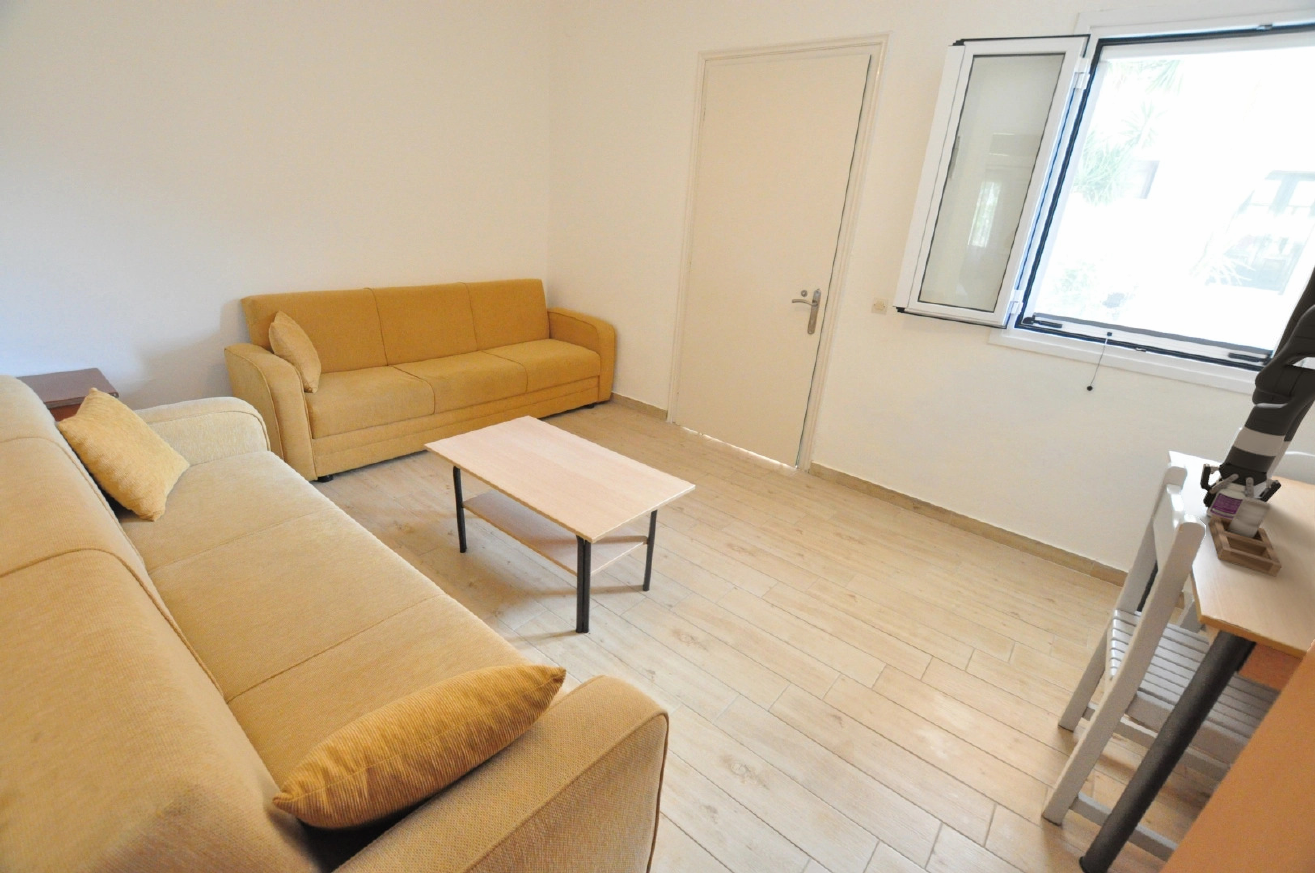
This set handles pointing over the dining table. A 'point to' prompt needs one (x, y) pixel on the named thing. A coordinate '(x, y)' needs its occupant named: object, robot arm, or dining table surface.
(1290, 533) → the dining table surface
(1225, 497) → the pill bottle
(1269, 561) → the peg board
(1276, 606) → the dining table surface
